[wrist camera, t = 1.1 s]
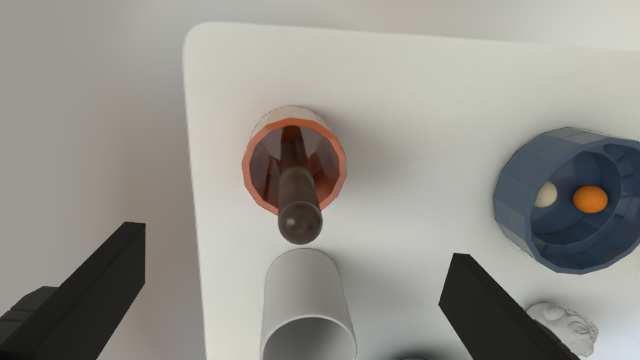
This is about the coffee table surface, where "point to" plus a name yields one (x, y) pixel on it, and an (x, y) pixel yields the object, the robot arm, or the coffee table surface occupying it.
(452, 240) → the coffee table surface
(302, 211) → the stick
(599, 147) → the bowl
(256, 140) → the holder
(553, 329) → the frog figurine
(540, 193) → the ball
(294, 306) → the mug
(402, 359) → the vase
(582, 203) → the ball
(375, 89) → the coffee table surface
